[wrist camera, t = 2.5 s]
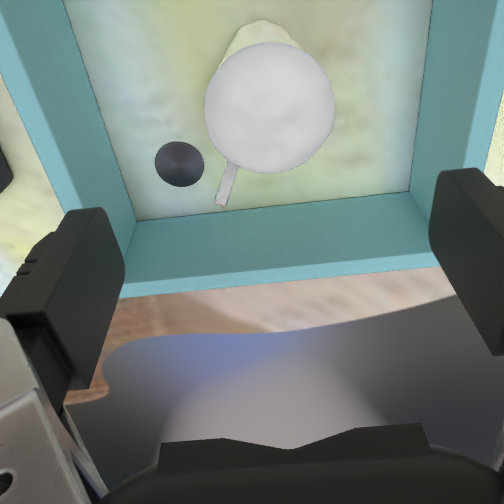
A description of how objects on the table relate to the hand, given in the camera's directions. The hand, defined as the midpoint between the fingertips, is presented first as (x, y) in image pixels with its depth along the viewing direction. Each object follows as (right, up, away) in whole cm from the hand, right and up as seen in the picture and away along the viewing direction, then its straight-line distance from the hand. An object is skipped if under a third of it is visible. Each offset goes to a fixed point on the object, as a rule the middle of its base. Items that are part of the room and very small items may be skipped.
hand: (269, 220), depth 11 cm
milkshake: (0, +9, +11) cm, 14 cm away
